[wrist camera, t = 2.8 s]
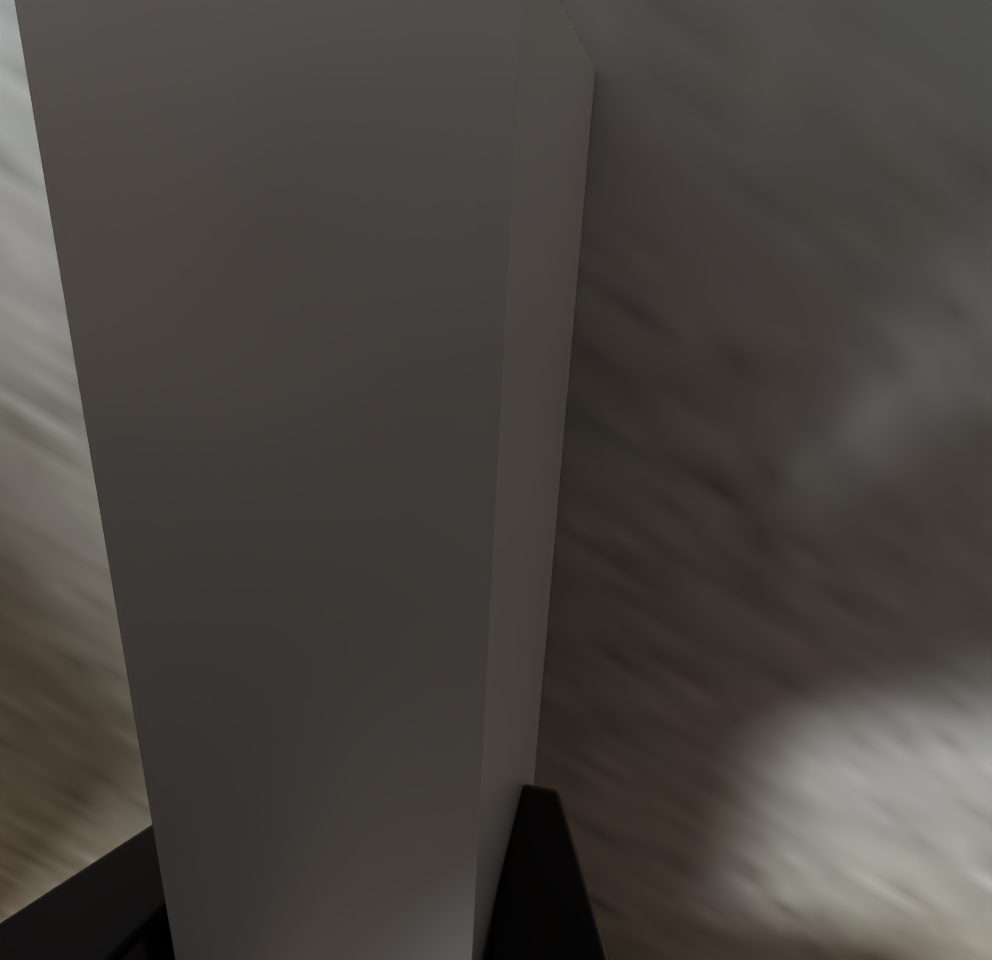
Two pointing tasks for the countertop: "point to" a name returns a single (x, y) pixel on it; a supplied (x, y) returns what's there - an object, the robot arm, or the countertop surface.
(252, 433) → the grey t-shaped block
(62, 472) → the countertop surface
